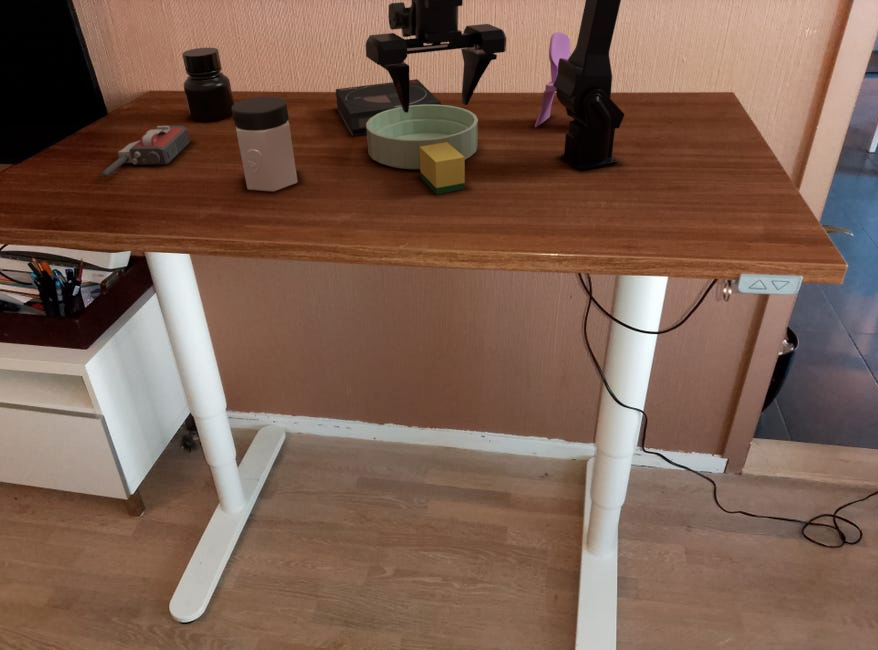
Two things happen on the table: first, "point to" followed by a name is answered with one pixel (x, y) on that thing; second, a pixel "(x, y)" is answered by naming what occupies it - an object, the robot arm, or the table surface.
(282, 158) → the jar
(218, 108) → the ink bottle
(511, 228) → the table surface
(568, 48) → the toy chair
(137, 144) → the walkie-talkie
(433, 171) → the sponge
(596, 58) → the robot arm
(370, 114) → the portable cd player
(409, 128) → the bowl
